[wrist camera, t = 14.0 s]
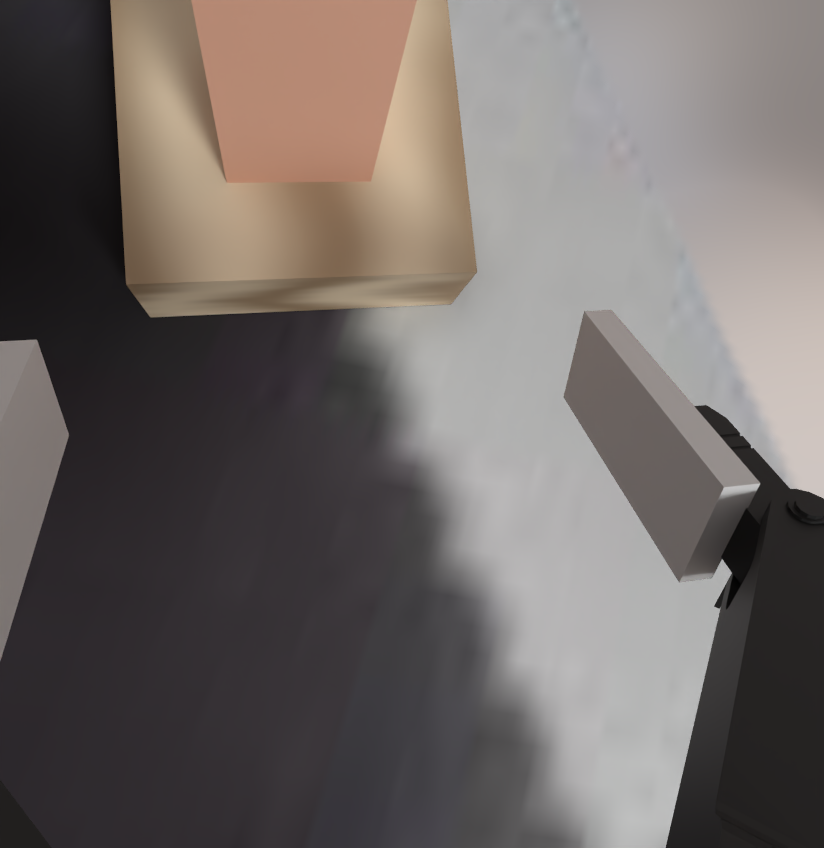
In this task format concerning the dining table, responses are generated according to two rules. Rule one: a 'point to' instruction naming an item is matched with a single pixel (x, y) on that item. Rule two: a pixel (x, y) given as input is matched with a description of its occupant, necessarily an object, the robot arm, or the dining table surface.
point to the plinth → (284, 188)
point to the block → (301, 84)
